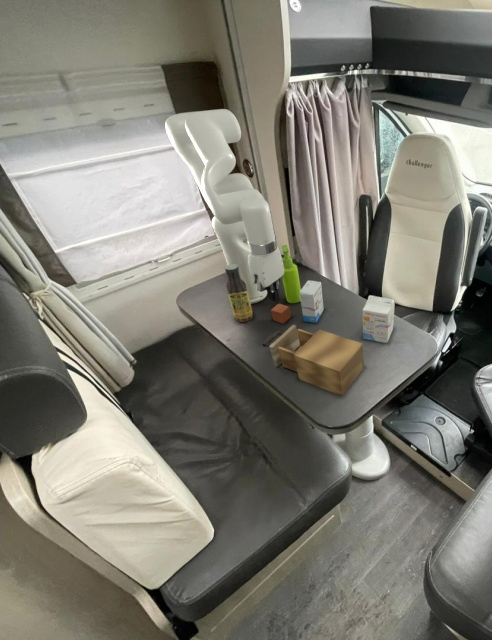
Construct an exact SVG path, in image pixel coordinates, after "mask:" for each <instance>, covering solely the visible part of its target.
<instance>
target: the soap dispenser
mask: <svg viewBox="0 0 492 640" xmlns="http://www.w3.org/2000/svg"><path fill="white" fill-rule="evenodd" d="M281 249H282V253H283V256H282V261H283V265H284V274H283V277H282V278H281V280H282V284H283V288H284V295H285V299H286V302H287V303H289V304H297V303H301V300H300V290H301V289H302V288H301V287H302V286H301V281H300V276H299V270H298V265H296V264H295V263H294V261H293V256H290V254H289V253H290V251H289V248H288V245H287V244H285V245H281Z"/></svg>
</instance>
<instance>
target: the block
mask: <svg viewBox="0 0 492 640" xmlns="http://www.w3.org/2000/svg"><path fill="white" fill-rule="evenodd" d="M270 312H271V315H272V319H273V321H275V322H277V323H280V324H283V325H284V324H285V323H286V322H287V321H288V320H290V318H292V314H291V310H290V306H288V305H285V304H282V303H278V304H276V305H275V306H274V307H273V308H272V309H270Z"/></svg>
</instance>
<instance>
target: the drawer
mask: <svg viewBox="0 0 492 640" xmlns="http://www.w3.org/2000/svg"><path fill="white" fill-rule="evenodd" d="M314 334H315V333H313V332H310V331H307V330H304V329H300V328H298V327H297V325H295V324H292V325H291V326H290V327H289V328H288V329H286V330H285V332H281V331H280V330H279V329H277V330H275V331H274V332H273V333H272V334H271V335H270V336H269V337H268V338H266V339H265V340H264V341H263V342H261V345H262V347H264V348H266V347H267V348H269V351H270V355H271V359H272V363H273V365H274V367H275V368H278V367H280V365H281V366H282V367H283V368H285V369H288V370H291V371H292V372H296V373H298V372H297V367H296V363H295V358H294V354H295V353H296V352H297V351H298V350H299V349H300V348H301V347H302V346H303V345H304V344H305V343H306V342H307V341H308V340H309V339H310V338H311V337H312V336H313V335H314ZM277 337H278V338H277ZM276 338H277V339H276ZM275 339H276V340H275ZM271 342H272V343H271ZM270 343H271V344H270Z"/></svg>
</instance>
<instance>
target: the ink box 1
mask: <svg viewBox="0 0 492 640" xmlns="http://www.w3.org/2000/svg"><path fill="white" fill-rule="evenodd" d="M323 298H324V297H323V288H322V282H321V281H315V280H307V281H306V282H305V284H304V285H303V286H302V288H301V290H300V300H301V301H300V307H301V313H302V319H303V322H306V323H315V324H316V323H318V322H319V321H318V320H319V319H320V317H321V316H322V314H323V311H325V310H324V309H325V308H324V299H323Z"/></svg>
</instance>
